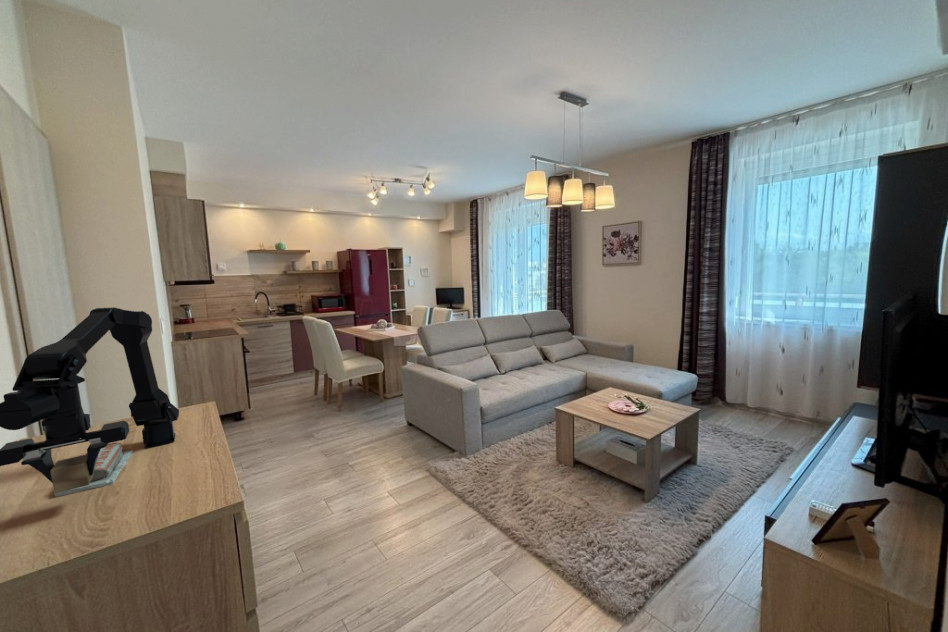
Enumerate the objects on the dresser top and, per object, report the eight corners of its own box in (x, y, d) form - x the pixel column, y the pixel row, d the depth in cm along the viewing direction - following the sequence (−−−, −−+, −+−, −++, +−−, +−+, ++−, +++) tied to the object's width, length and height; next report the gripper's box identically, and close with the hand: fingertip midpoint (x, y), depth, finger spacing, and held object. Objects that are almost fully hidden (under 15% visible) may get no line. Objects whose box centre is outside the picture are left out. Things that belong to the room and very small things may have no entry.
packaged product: (80, 447, 99) (130, 437, 104) (83, 464, 99) (133, 454, 104) (50, 479, 83) (110, 466, 89) (54, 500, 84) (113, 485, 89)
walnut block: (93, 474, 84) (90, 453, 83) (88, 484, 80) (84, 463, 79) (61, 482, 81) (57, 460, 80) (54, 493, 77) (50, 471, 76)
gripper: (127, 390, 90) (137, 451, 92) (9, 408, 79) (22, 477, 81) (120, 403, 81) (130, 470, 83) (-15, 426, 70) (1, 503, 72)
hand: (74, 478), depth 80 cm, fingers closed on walnut block, 5 cm apart
